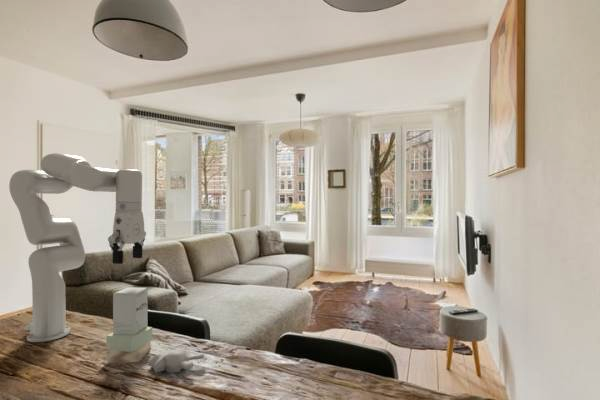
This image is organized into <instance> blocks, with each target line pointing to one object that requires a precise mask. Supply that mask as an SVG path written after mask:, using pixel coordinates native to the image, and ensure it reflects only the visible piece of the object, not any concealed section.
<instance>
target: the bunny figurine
mask: <svg viewBox="0 0 600 400" xmlns="http://www.w3.org/2000/svg"><path fill="white" fill-rule="evenodd" d="M204 358H205V355H204V353H202V352H201V353H200V352H199V353H196V354H195V353H194V354H191V355H189V353H188V351H187V349H186V348H176V349H174V350H171V351H167V350H165V349H164V350H162V351H161V352H158V354H156V355H155V356H153V357H151V358H150V359H149V360H148V367H151V369H152V370H153V371H154V373H155V372H156V373H159V372H163V371H167V372H168V373H171V374H173V373H176V374H178V373H179V372H180V371H181V370H182V369H184V370H185V371H188V370H190V369H193V366H194V362H193V361H192V360H203V359H204Z"/></svg>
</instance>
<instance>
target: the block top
mask: <svg viewBox="0 0 600 400" xmlns="http://www.w3.org/2000/svg"><path fill="white" fill-rule="evenodd" d="M150 341H151V342H152V341H153V327H152V326H147V327H145V328H143V329H142V330H140V331H139V332H138V333H136V334H135V335H126V334H113V332H111V333H109V334H107V335H106V349H107V350H109V349H112V350H119V351H126V352H132V351H134V350H136V349H138V348H139V347H141V346H143V345H145V344H146V343H148V342H150Z"/></svg>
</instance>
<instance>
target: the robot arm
mask: <svg viewBox="0 0 600 400" xmlns="http://www.w3.org/2000/svg"><path fill="white" fill-rule="evenodd" d="M40 168H41V169H22V170H18V171H16V172H14V173H13V174H12V175H11V177H10V180H9V184H8V185H9V187H8V188H9V193H10V196H11V199H12V200H13V203H14V204H15V206H16V207H17V210H18V211H19V215H20V218H21V221H22V225H23V229H24V232H25V236H26V238H27V241H28V242H29V243H30V244H31V245H33V246H45V245H54V244H55V245H54V246H47V247H46V246H45V247H42V248H38V249H36V250H34V251H33V252H31V254H30V255H29V257H28V262H27V263H28V267H29V272H30V276H31V287H32V290H31V291H32V292H31V293H32V295H31V296H32V303H31V304H32V321H31V322H28V323H27V325H25V326H24V330H25V331H29V334H27V335H26V341H28V342H30V343H44V342H50V341H54V340H58V339H60V338H63V337H65V336H67V335H69V334H70V333H71V331H72V329H71V326H68V325H66V324H67V323H66V318H67V317H66V312H67V311H66V310H67V309H66V305H67V303H66V282H65V280H64V278H63V277H62V276H61V274H60V273H62V272H65V271H70V270H75V269H78V268H81V267H82V266H83V265H84V263H85V261H86V251H85V249H84V245H83V241H82V238H81V235H80V231H79V228H78V226H77V224H76V222H74V221H73V220H72V219H71V218H67V217H53V216H52V213H51V211H50V207H49V206H48V204H47V203H46V201H44V199H43V198H41V197H40V196H38V194H53V195H54V194H56V195H57V194H58V195H59V194H63V193H64V194H65V193H66V192H68V191H70V189H72V188H74V187H75V188H78V189H82V190H86V191H89V192H109V193H115V213H114V218H113V226H112V234H111V235H110V236H108V237H107V241H108V245H109V247H110V249H111V251H112V264H116V265H122V264H123V263H124V250H123V248H124V246H125V244H126V245H131V244H133V245H132V258H133V259H143V246H144V242H145V240H146V235H147V232H146V231H145V219H144V214H143V211H142V210H143V208H142V207H143V203H142V202H143V201H142V200H143V173H142V172H141V171H140V170H138V169H127V168H123V169H114V168H104V167H95V166H94V167H93V166H92V165H91V164H90V163H89V162H88V161H87V160H86V159H85V158H84V157H82V156H79V155H73V154H67V153H66V154H65V153H58V152H57V153H56V152H54V153H49V154H46V155H44V156H43V157H42V159H41V161H40ZM56 244H59V245H56Z"/></svg>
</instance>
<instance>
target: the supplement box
mask: <svg viewBox="0 0 600 400" xmlns="http://www.w3.org/2000/svg"><path fill="white" fill-rule="evenodd" d="M112 306H113V307H112V322H113V323H112V333H113V334H126V335H135V334H136V333H138V332H139V331H140V330H142V329H143V328H145V327H148V319H149V318H148V312H149V310H148V287H125V288H123V289H120V290H118V291H116V292H113V294H112Z"/></svg>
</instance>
